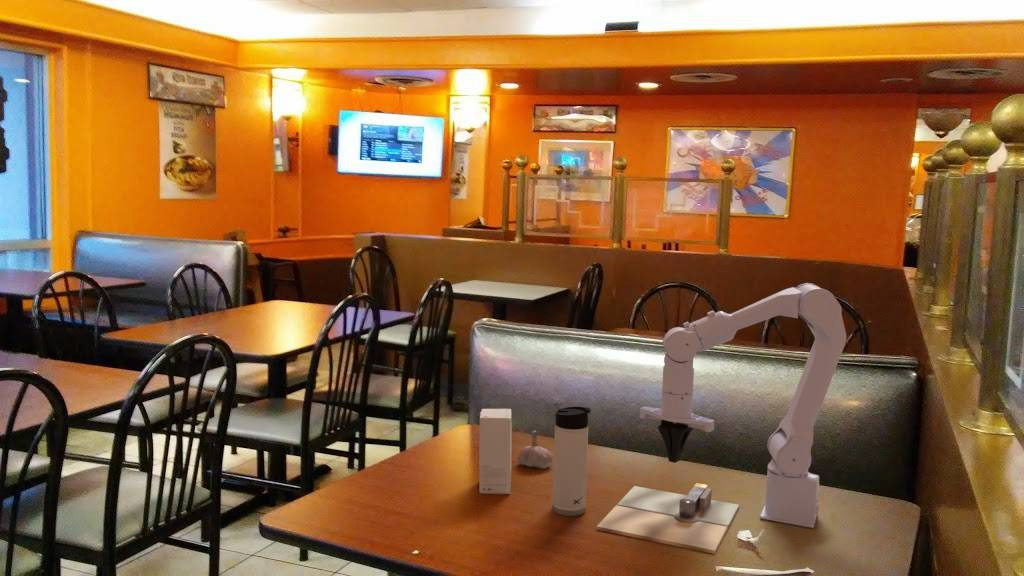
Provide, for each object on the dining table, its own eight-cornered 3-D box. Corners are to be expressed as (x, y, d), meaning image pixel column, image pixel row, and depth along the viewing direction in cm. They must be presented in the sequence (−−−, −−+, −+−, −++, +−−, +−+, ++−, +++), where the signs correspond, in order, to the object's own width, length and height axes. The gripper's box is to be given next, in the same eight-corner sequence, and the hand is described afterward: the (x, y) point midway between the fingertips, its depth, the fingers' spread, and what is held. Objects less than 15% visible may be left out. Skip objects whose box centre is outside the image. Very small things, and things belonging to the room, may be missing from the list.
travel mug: (585, 518, 151) (588, 413, 149) (550, 514, 153) (553, 410, 150) (588, 505, 157) (592, 404, 155) (555, 502, 159) (558, 402, 156)
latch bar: (692, 519, 149) (693, 505, 149) (677, 516, 150) (677, 502, 150) (708, 496, 161) (709, 483, 160) (694, 493, 162) (695, 480, 162)
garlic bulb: (511, 464, 181) (512, 429, 180) (537, 458, 185) (538, 424, 184) (532, 474, 175) (533, 438, 174) (558, 468, 179) (559, 432, 178)
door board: (738, 507, 158) (739, 490, 158) (714, 553, 138) (715, 534, 137) (634, 488, 167) (634, 472, 167) (596, 529, 146) (597, 511, 146)
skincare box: (510, 495, 162) (512, 418, 160) (476, 494, 162) (478, 418, 160) (511, 480, 170) (512, 407, 169) (479, 479, 170) (480, 406, 169)
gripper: (722, 393, 153) (718, 463, 155) (653, 381, 162) (650, 448, 164) (706, 401, 148) (702, 473, 149) (635, 388, 157) (632, 456, 158)
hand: (674, 460), depth 156 cm, fingers closed
